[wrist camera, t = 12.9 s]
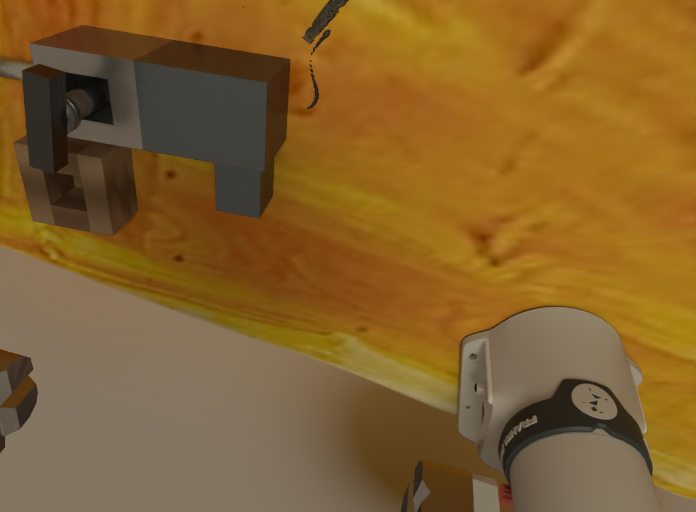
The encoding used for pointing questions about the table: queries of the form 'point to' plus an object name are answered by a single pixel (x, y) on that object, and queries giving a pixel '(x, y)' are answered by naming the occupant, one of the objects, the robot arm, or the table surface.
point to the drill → (179, 103)
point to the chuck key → (56, 113)
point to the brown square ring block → (82, 187)
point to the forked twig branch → (317, 26)
